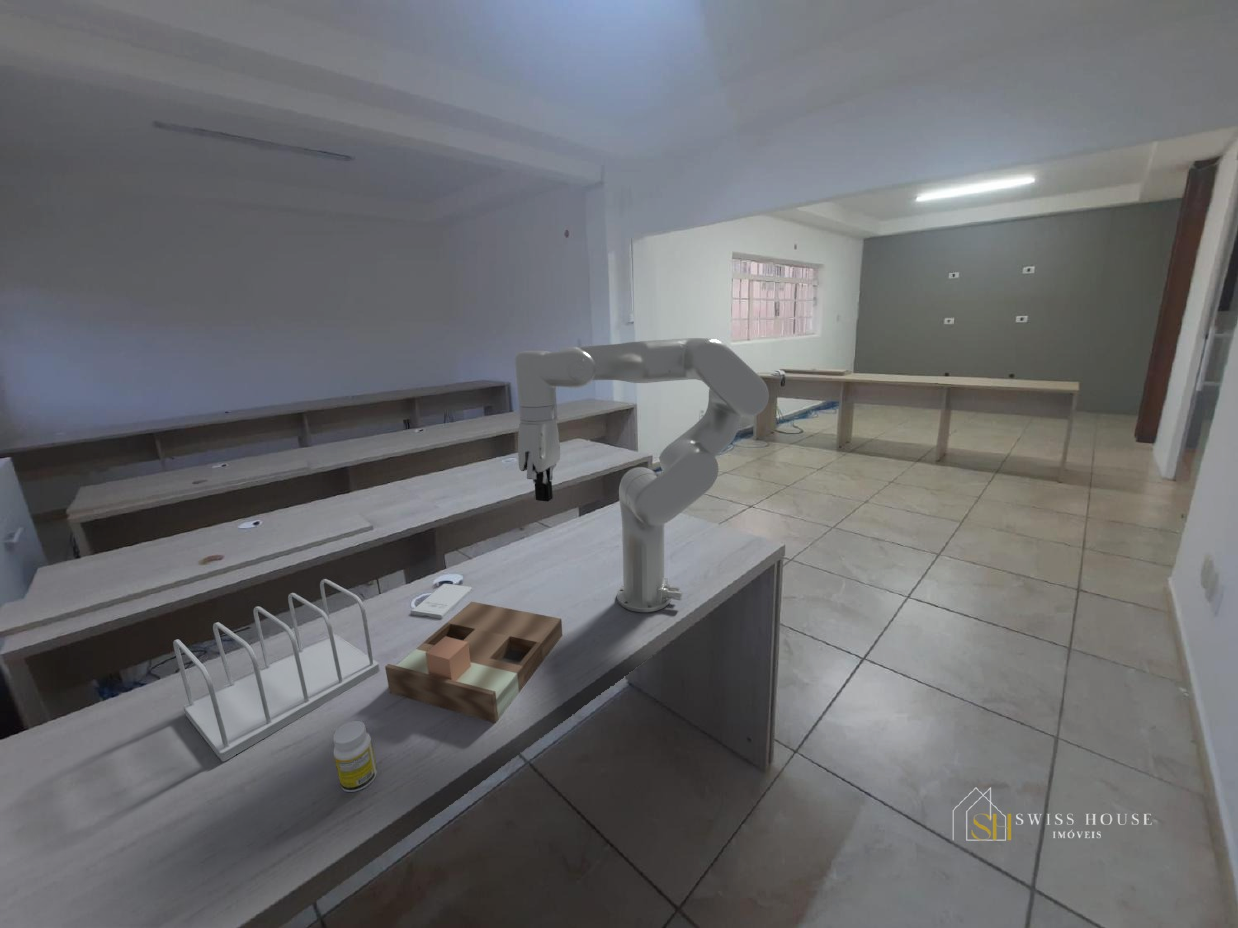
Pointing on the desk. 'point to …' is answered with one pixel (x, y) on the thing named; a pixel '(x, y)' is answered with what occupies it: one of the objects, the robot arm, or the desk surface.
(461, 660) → the block
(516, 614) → the box
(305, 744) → the desk surface
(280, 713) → the file sorter
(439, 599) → the external hard drive
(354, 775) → the supplement bottle
